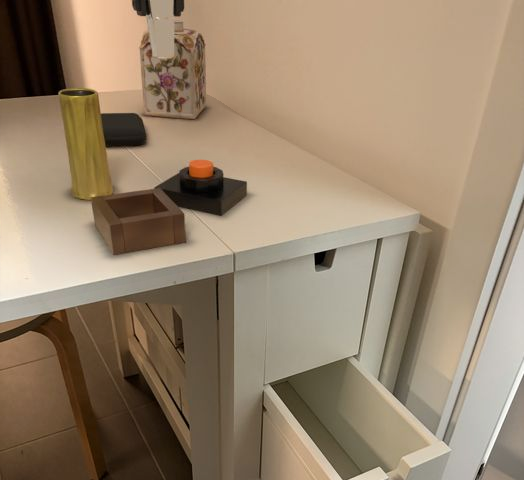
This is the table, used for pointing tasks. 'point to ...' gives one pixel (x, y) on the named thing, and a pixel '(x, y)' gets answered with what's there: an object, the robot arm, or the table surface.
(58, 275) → the table surface
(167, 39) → the milkshake
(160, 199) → the socket
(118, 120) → the carrying case
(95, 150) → the vase
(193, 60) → the decorative jar
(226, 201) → the confirm box
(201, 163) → the button
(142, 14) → the robot arm
